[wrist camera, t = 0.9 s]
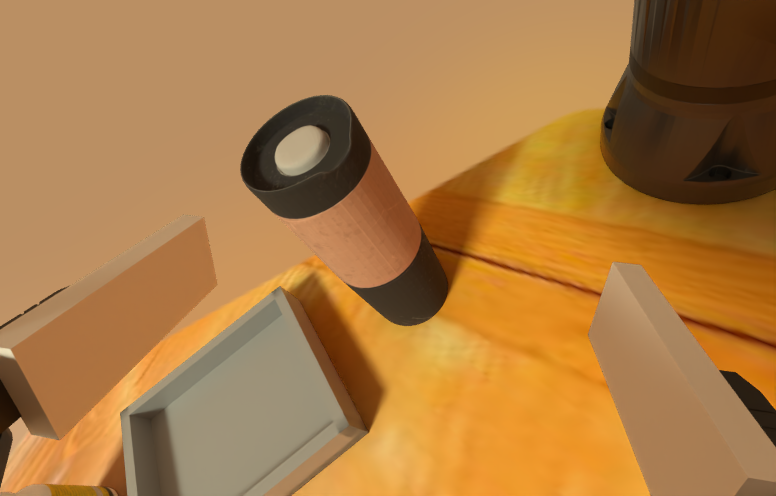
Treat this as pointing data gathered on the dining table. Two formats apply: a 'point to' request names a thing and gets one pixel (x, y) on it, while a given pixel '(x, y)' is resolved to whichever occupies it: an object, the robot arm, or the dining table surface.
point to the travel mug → (345, 206)
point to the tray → (243, 412)
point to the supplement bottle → (62, 491)
